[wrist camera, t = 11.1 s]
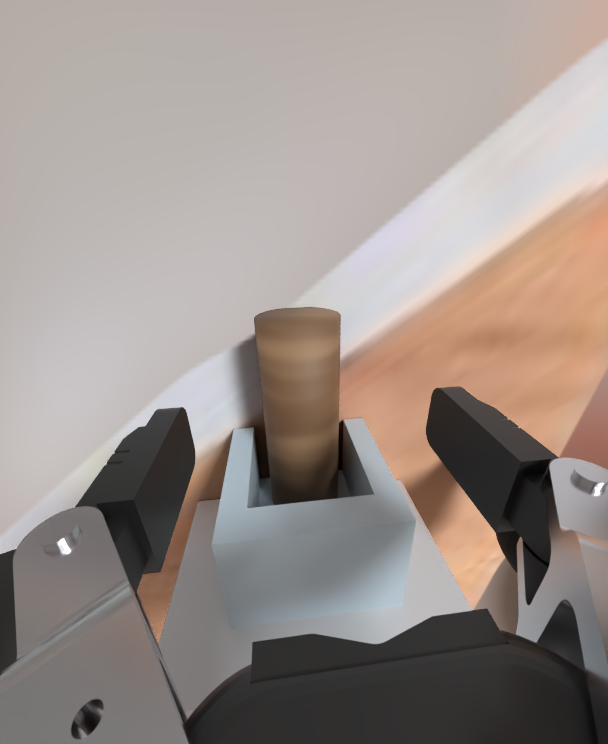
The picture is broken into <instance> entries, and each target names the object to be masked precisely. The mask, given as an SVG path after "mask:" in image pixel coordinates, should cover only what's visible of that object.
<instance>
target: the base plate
mask: <svg viewBox="0 0 608 744" xmlns="http://www.w3.org/2000/svg"><path fill="white" fill-rule="evenodd" d="M395 481H396V483H397V485H398V486H399V488H400V490H401V492H402V494H403V496H404V498H405V500H406V502H407V503H408V505H409V507H410V509H411V511H412V513H413V515H414V517H415V519H416V526H415V532H414V538H413V544H412V550H411V556H410V562H409V568H408V574H407V580H406V586H405V592H404V598H403V605H396V606H389V607H382V608H375V609H368V610H361V611H354V612H347V613H340V614H333V615H325V616H318V617H311V618H304V619H297V620H290V621H283V622H276V623H269V624H262V625H255V626H248V627H241V628H234V629H231V626H230V622H229V618H228V613H227V609H226V605H225V600H224V596H223V592H222V587H221V583H220V578H219V574H218V570H217V565H216V561H215V557H214V552H213V548H212V540H213V535H214V530H215V525H216V519H217V514H218V509H219V504H220V499H215V500H206V501H198V503H197V507H196V511H195V514H194V518H193V522H192V525H191V529H190V533H189V536H188V540H187V543H186V547H185V551H184V554H183V558H182V562H181V565H180V569H179V573H178V576H177V580H176V584H175V587H174V591H173V594H172V598H171V602H170V605H169V609H168V613H167V616H166V620H165V624H164V627H163V631H162V634H161V638H160V642H159V648H160V650H161V653H162V655H163V658H164V660H165V663H166V665H167V667H168V670H169V672H170V675H171V677H172V679H173V682H174V684H175V687H176V689H177V691H178V694H179V696H180V698H181V701H182V703H183V706H184V708H185V711H186V713H187V716H188V718H189V717H190V715H191V714H192V713H193V711H194V710H195V709H196V708H197V707H198V706H199V705H200V703H201V702H202V701H203V700H204V699H205V698H206V697H207V696H208V695H209V694H210V693H211V692H212V691H213V690H214V689H215V688H216V687H218V686H219V685H220V684H221V683H222V682H223V681H224V680H226V679H227V678H229V677H230V676H232V675H233V674H234V673H236V672H237V671H239V670H240V669H242V668H244V667H246V666H248V665H250V664H251V662H252V642H256V641H263V640H270V639H277V638H284V637H291V636H298V635H305V634H312V633H314V634H319V635H325V636H331V637H336V638H342V639H348V640H353V641H359V642H365V643H370V644H380V643H383V642H385V641H387V640H389V639H391V638H393V637H395V636H397V635H398V634H400V633H402V632H404V631H406V630H408V629H410V628H411V627H413V626H415V625H417V624H419V623H421V622H423V621H424V620H426V619H428V618H430V617H432V616H438V615H445V614H452V613H459V612H466V611H473V610H472V609H471V607H470V605H469V603H468V601H467V600H466V598H465V596H464V594H463V592H462V590H461V589H460V587H459V585H458V583H457V581H456V580H455V578H454V576H453V574H452V572H451V570H450V569H449V567H448V565H447V563H446V561H445V560H444V558H443V556H442V554H441V552H440V550H439V549H438V547H437V545H436V543H435V541H434V540H433V538H432V536H431V534H430V532H429V531H428V529H427V527H426V525H425V523H424V521H423V520H422V518H421V516H420V514H419V512H418V511H417V509H416V507H415V505H414V503H413V501H412V500H411V498H410V496H409V494H408V492H407V491H406V489H405V487H404V485H403V483H402V481H401V480H395Z"/></svg>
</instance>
